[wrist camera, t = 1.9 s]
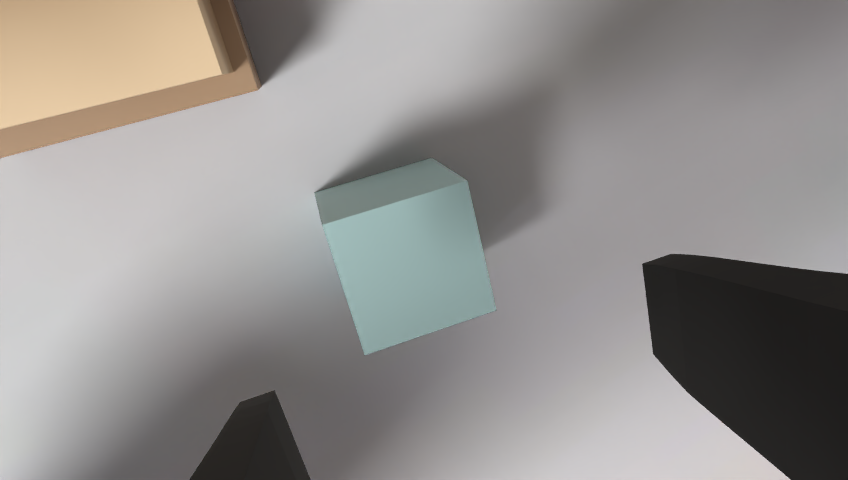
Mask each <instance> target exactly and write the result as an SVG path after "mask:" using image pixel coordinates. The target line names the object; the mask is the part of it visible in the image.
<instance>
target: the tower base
mask: <svg viewBox="0 0 848 480" xmlns="http://www.w3.org/2000/svg"><path fill="white" fill-rule="evenodd" d="M210 3H211V6H212V9H213V11H214V14H215V17H216V20H217V23H218V26H219V29H220V32H221V35H222V38H223V41H224V44H225V47H226V50H227V53H228V56H229V59H230V62H231V65H232V68H233V71H234V72H233V73H229V74H225V75H220V76H216V77H212V78H208V79H204V80H200V81H196V82H192V83H188V84H184V85H180V86H176V87H172V88H168V89H164V90H160V91H156V92H152V93H148V94H144V95H139V96H135V97H131V98H127V99H123V100H119V101H115V102H111V103H107V104H103V105H99V106H95V107H91V108H87V109H83V110H79V111H75V112H71V113H67V114H63V115H58V116H54V117H50V118H46V119H42V120H38V121H34V122H30V123H26V124H22V125H18V126H14V127H10V128H6V129H2V130H0V158H2V157H6V156H10V155H14V154H18V153H21V152H25V151H29V150H33V149H37V148H40V147H44V146H48V145H52V144H55V143H59V142H63V141H67V140H71V139H74V138H78V137H82V136H86V135H90V134H93V133H97V132H101V131H105V130H109V129H112V128H116V127H120V126H124V125H128V124H131V123H135V122H139V121H143V120H147V119H150V118H154V117H158V116H162V115H166V114H169V113H173V112H177V111H181V110H185V109H188V108H192V107H196V106H200V105H204V104H207V103H211V102H215V101H219V100H222V99H226V98H230V97H234V96H238V95H241V94H245V93H249V92H253V91H257V90H259V89H260V88H261V87H262V86H261V83H260V80H259V77H258V74H257V71H256V68H255V65H254V62H253V59H252V56H251V53H250V50H249V47H248V44H247V41H246V38H245V35H244V32H243V29H242V26H241V23H240V20H239V17H238V14H237V11H236V8H235V4H234V1H233V0H210Z"/></svg>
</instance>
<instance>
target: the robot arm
mask: <svg viewBox="0 0 848 480" xmlns="http://www.w3.org/2000/svg"><path fill="white" fill-rule="evenodd" d="M642 265H643V274H644V282H645V290H646V298H647V307H648V315H649V323H650V331H651V339H652V348H653V354H654V355H655V357H656V358H657V359H658V360H659V361H660V362H661V364H662V365H663V366H664V367H665V368H666V369H667V370H668V372H669V373H670V374H671V375H672V376H673V377H674V378H675V379H676V380H677V381H678V383H679V384H680V385H681V386H682V387H683V388H684V389H685V390H686V391H687V392H688V393H689V394H690V395H691V396H692V397H694V398H695V399H696V400H697V401H698V402H699V403H700V404H702V405H703V406H704V407H705V408H706V409H707V410H709V411H710V412H711V413H712V414H713V415H714V416H716V417H717V418H718V419H719V420H720V421H722V422H723V423H724V424H725V425H726V426H727V427H729V428H730V429H731V430H732V431H733V432H735V433H736V434H737V435H738V436H739V437H741V438H742V439H743V440H744V441H745V442H747V443H748V444H749V445H750V446H751V447H753V448H754V449H755V450H756V451H757V452H759V453H760V454H761V455H762V456H763V457H765V458H766V459H767V460H768V461H769V462H771V463H772V464H773V465H774V466H775V467H777V468H778V469H779V470H780V471H781V472H783V473H784V474H785V475H786V476H787V477H788V478H790V479H791V480H848V274H843V273H833V272H823V271H814V270H806V269H798V268H790V267H782V266H775V265H767V264H760V263H753V262H745V261H738V260H731V259H723V258H715V257H707V256H698V255H685V254H669V255H667V256H664V257H661V258H658V259H655V260H652V261H649V262H646V263H643V264H642ZM190 480H310V478H309V475H308V473H307V470H306V468H305V465H304V463H303V460H302V458H301V455H300V453H299V450H298V448H297V445H296V443H295V440H294V438H293V435H292V433H291V430H290V428H289V425H288V423H287V420H286V418H285V415H284V413H283V410H282V408H281V405H280V403H279V400H278V398H277V395H276V393H275V390H274V391H272V392H269V393H266V394H263V395H260V396H257V397H254V398H251V399H248V400H245V401H243V402H240V403H239V405H238V406H237V407H236V409H235V410H234V412H233V413H232V415H231V416H230V418H229V420H228V421H227V423H226V424H225V426H224V428H223V429H222V431H221V432H220V434H219V435H218V437H217V439H216V440H215V442H214V443H213V445H212V446H211V448H210V450H209V451H208V453H207V454H206V456H205V457H204V459H203V460H202V462H201V463H200V465H199V466H198V468H197V469H196V471H195V472H194V474H193V475H192V477H191V478H190Z"/></svg>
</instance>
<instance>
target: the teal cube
mask: <svg viewBox="0 0 848 480" xmlns="http://www.w3.org/2000/svg"><path fill="white" fill-rule="evenodd" d="M315 197H316V201H317V205H318V209H319V214H320V218H321V222H322V226H323V229H324V232H325V235H326V238H327V241H328V244H329V247H330V250H331V253H332V256H333V259H334V263H335V266H336V269H337V272H338V275H339V278H340V281H341V284H342V287H343V290H344V293H345V296H346V299H347V302H348V306H349V309H350V312H351V315H352V318H353V321H354V324H355V327H356V330H357V333H358V336H359V339H360V342H361V345H362V349H363V352H364V355H368V354H371V353H374V352H376V351H379V350H382V349H385V348H388V347H391V346H394V345H397V344H400V343H403V342H406V341H409V340H412V339H414V338H417V337H420V336H423V335H426V334H429V333H432V332H435V331H438V330H441V329H444V328H447V327H450V326H452V325H455V324H458V323H461V322H464V321H467V320H470V319H473V318H476V317H479V316H482V315H485V314H488V313H490V312H493V311H496V306H495V302H494V297H493V293H492V288H491V284H490V279H489V275H488V270H487V266H486V261H485V257H484V252H483V248H482V244H481V239H480V235H479V230H478V226H477V221H476V217H475V212H474V208H473V203H472V199H471V195H470V190H469V186H468V181H467V180H466V179H464V178H463V177H461V176H460V175H458V174H456V173H455V172H453V171H452V170H450V169H449V168H447V167H445V166H444V165H442V164H441V163H439V162H438V161H436V160H435V159H433V158H429V159H426V160H422V161H419V162H416V163H412V164H409V165H406V166H402V167H399V168H395V169H392V170H389V171H385V172H382V173H379V174H375V175H372V176H369V177H365V178H362V179H358V180H355V181H352V182H348V183H345V184H342V185H338V186H335V187H331V188H328V189H325V190H321V191H318V192H315Z"/></svg>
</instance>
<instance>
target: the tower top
mask: <svg viewBox="0 0 848 480" xmlns="http://www.w3.org/2000/svg"><path fill="white" fill-rule="evenodd" d="M233 72H234V71H233V68H232V65H231V62H230V59H229V56H228V53H227V50H226V47H225V44H224V41H223V38H222V35H221V32H220V29H219V26H218V23H217V20H216V17H215V14H214V11H213V9H212V6H211V3H210V0H0V130H2V129H6V128H10V127H14V126H18V125H22V124H26V123H30V122H34V121H38V120H42V119H46V118H50V117H54V116H58V115H63V114H67V113H71V112H75V111H79V110H83V109H87V108H91V107H95V106H99V105H103V104H107V103H111V102H115V101H119V100H123V99H127V98H131V97H135V96H139V95H144V94H148V93H152V92H156V91H160V90H164V89H168V88H172V87H176V86H180V85H184V84H188V83H192V82H196V81H200V80H204V79H208V78H212V77H216V76H220V75H225V74H229V73H233Z"/></svg>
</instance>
